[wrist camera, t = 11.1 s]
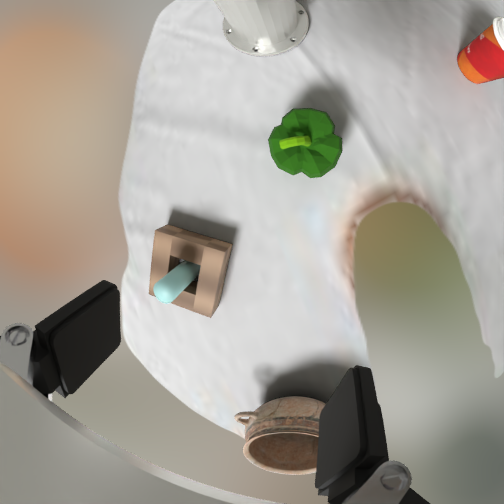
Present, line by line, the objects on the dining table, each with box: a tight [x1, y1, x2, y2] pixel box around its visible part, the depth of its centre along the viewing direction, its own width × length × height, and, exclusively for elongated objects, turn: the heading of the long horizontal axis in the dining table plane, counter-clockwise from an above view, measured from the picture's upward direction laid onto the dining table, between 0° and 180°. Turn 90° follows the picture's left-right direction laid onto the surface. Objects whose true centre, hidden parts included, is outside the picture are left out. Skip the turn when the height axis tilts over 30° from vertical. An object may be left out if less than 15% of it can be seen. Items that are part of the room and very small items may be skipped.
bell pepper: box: [268, 108, 342, 178], centre depth 30 cm, size 8×8×10 cm
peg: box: [153, 260, 201, 304], centre depth 39 cm, size 3×3×10 cm
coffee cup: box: [457, 17, 504, 84], centre depth 17 cm, size 8×8×15 cm
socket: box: [149, 225, 233, 318], centre depth 41 cm, size 11×11×4 cm
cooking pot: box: [235, 396, 326, 475], centre depth 43 cm, size 25×19×12 cm
